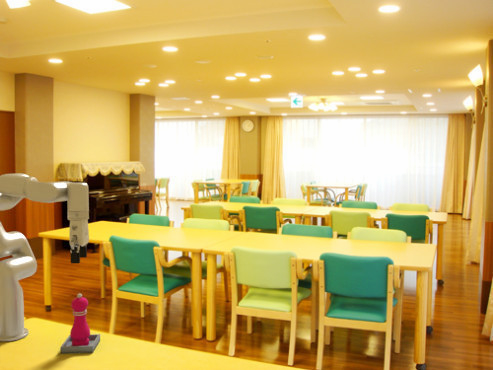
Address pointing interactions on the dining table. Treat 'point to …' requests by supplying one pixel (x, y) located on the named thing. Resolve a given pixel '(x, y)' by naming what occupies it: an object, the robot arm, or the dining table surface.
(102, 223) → the dining table surface
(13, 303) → the robot arm
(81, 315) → the pepper mill
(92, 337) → the tray
